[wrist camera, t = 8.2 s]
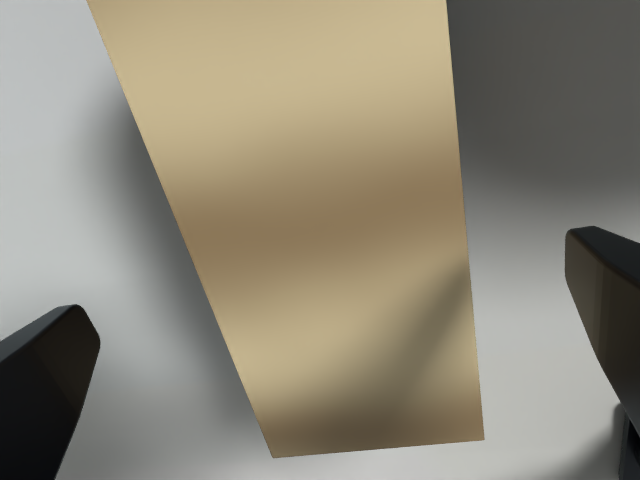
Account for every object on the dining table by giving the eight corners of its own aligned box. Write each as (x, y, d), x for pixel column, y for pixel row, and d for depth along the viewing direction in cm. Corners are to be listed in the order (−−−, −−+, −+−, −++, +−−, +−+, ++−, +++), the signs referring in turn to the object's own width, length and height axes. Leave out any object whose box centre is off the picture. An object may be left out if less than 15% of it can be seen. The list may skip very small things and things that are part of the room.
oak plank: (464, 361, 16) (484, 440, 14) (285, 380, 17) (272, 458, 15) (408, -182, 10) (426, -226, 7) (118, -98, 11) (41, -111, 8)
